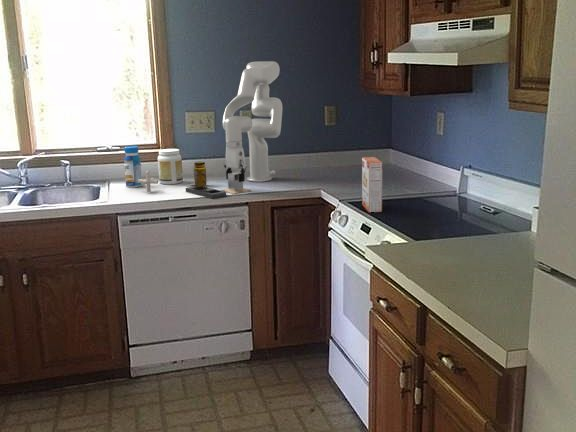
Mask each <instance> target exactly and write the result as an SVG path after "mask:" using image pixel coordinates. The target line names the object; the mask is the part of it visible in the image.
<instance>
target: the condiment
mask: <svg viewBox="0 0 576 432" xmlns="http://www.w3.org/2000/svg"><path fill="white" fill-rule="evenodd" d="M205 162H206V161H195V162H194V167H193V178H194V179H193V180H194V181H193V183H194V184H189V185H188V187H194V186H204V187H210V185H208V183H207V169H206V163H205Z"/></svg>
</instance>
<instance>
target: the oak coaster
mask: <svg viewBox="0 0 576 432" xmlns="http://www.w3.org/2000/svg"><path fill="white" fill-rule="evenodd" d="M220 190H221V191H225V192H226V194H231V195H235V194H236V195H237V194H242V193H247V192H252V191H251V190H252V189H249V188H244V187H243V190H239V191H231V190H229V189H228V188H225V189H220Z"/></svg>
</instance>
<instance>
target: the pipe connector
mask: <svg viewBox="0 0 576 432" xmlns="http://www.w3.org/2000/svg"><path fill="white" fill-rule="evenodd" d="M150 175H151V174H150V171H149V170H145V179H139V180H138V183H141V184H142V186H144V185H146V192H147V193H150V192H151V191H152V190H151V189H152V188H151V185H152V184H154V185H155V184H158V183H159V179H158V180H157V179H156V178H155V177H151V176H150ZM150 177H151V178H150Z"/></svg>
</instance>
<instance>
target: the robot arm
mask: <svg viewBox="0 0 576 432" xmlns="http://www.w3.org/2000/svg"><path fill="white" fill-rule="evenodd" d="M245 67H246V68H244V69H243V71H242V73H241V77H240V82H239V86H238V91H237V94H236V96H235V97H234V98H232V100H231V101H230V102H229V103H228V104H227V105H226V107H225V110H224V113H223V116H222V129H223V130H224V131H225V156H224V157H225V159H223V161H222V163H223V167H224V170H225V177H226V180H228V173H233V170H232V169H234V170H237V172H239V174H238V178H239V182H243V183H244V182H245V180H246V178H245V174H246V171H247V167H248V164H247V163H246V159H245V152H244V151H245V150H244V147H243V136H242V135H243V133H247V137H248V147H249V173H250V174H249V176H248V177H247V181H248V182H256V183H259V182H260V183H261V182H262V183H263V182H270V181H272V179H273V177H272V175H276V170H269V147H268V143H267V141H266V140H265V139H266V138H268V139H275V138H278V137H279V136H280V135H281V129H282V120H283V119H282V118H283V103H282V101H281V99H280V98H278V97H270V87H269V86H270V84H271V83H273V82H274V81H275V80H276V79H277V78H278V77H279V75H280V65H279V63H278V62H276V61H273V60H271V61H251V62H248V63H247V64H246V66H245ZM249 104H251V113H252V115H253V116H256V117H270V118H250V117H249V116H246V115H245V116H243V115H242V116H241V115H234V114H235V113H236V112H237V111H238V110H239V109H241V108H242V107H245V106H247V105H249Z"/></svg>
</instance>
